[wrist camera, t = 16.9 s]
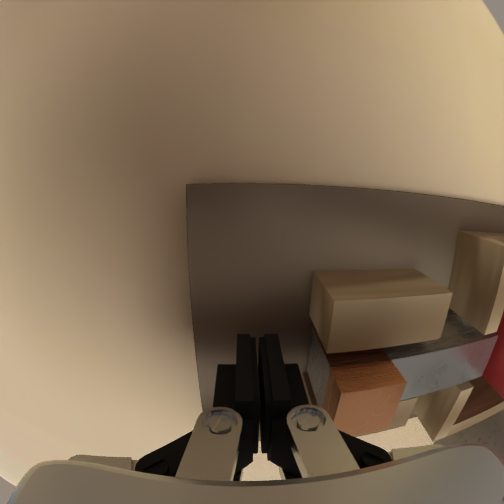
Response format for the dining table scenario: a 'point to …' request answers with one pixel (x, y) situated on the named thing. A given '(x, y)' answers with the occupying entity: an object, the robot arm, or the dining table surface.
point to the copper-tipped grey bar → (393, 374)
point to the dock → (293, 241)
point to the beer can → (496, 362)
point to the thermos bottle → (481, 434)
